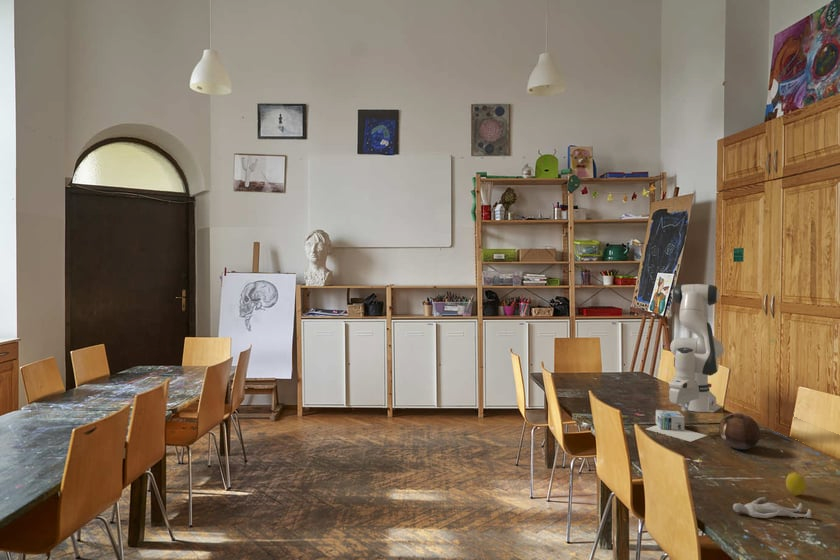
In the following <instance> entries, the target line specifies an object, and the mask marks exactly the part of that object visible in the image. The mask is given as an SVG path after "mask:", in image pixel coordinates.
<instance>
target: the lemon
mask: <svg viewBox="0 0 840 560" xmlns="http://www.w3.org/2000/svg"><path fill="white" fill-rule="evenodd" d="M785 487H786V489H787V490H788V492H789V493H791V494H792V495H793V496H795V497H796V496H800V495H803V494H804V493H805V491H806V487H807V484H806V481H805V479H804V477H803V476H802V475H801V474H799V473H798V472H791V473H789V474H788V475H787V476H786V479H785Z"/></svg>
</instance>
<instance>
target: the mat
mask: <svg viewBox="0 0 840 560" xmlns="http://www.w3.org/2000/svg"><path fill="white" fill-rule="evenodd" d="M645 430H646V431H647V430H648V431H650V432H655V433H657V432H658V434H662V435H664V434H665V435H664V436H668V437H671V436H672V438H674V439H675V438H676V439H680V440H682V441H683V440H684V441H687V442H691V443H692V442H694V441H695V442H696V441H698V440H701V439H704V438H706V437H708V435H707V434H704V433H700V432H696V431H692V430H688V429H685V428H684V431H683V430H669V429H660V428H659V426H658V425H657V424H655V425H653V426H650V427H647V428H645Z"/></svg>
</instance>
